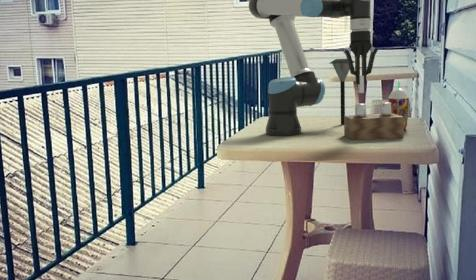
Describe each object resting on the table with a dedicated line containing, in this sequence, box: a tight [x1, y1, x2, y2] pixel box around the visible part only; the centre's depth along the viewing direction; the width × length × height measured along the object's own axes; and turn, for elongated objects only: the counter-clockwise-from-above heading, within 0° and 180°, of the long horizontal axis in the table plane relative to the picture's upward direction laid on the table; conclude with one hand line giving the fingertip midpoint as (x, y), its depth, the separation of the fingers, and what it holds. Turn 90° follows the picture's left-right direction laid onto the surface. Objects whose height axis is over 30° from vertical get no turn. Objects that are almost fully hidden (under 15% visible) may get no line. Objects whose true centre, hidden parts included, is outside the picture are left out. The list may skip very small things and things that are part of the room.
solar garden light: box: [328, 58, 355, 126], centre depth 242 cm, size 12×12×30 cm
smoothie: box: [387, 81, 410, 131], centre depth 221 cm, size 8×8×20 cm
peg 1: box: [354, 103, 367, 118], centre depth 206 cm, size 4×4×8 cm
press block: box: [343, 113, 405, 141], centre depth 207 cm, size 20×12×8 cm, turn 93°
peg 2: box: [380, 101, 391, 117], centre depth 207 cm, size 4×4×8 cm
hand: (361, 92), depth 205 cm, fingers closed
